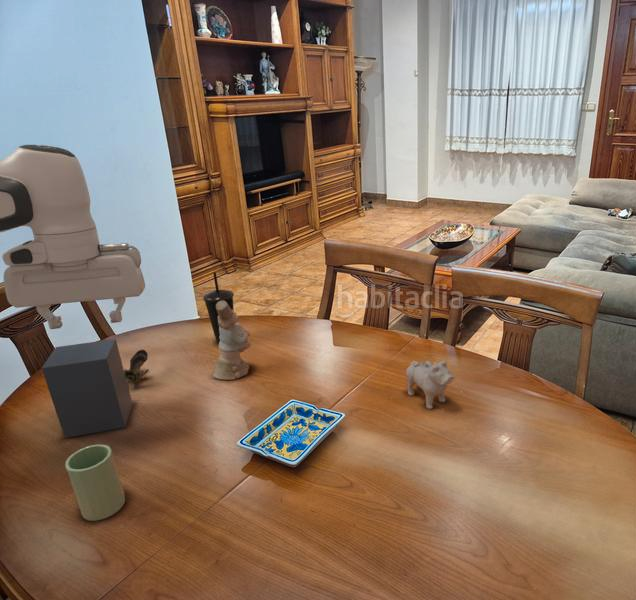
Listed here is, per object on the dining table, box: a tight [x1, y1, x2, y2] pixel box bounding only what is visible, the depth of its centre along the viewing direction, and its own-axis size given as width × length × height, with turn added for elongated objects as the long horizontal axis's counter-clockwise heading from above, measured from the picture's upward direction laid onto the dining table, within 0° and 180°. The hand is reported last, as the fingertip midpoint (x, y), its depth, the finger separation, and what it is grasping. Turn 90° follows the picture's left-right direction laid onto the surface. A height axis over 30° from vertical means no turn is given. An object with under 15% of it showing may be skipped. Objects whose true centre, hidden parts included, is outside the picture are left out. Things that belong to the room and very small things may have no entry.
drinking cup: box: [202, 271, 235, 346], centre depth 135 cm, size 8×8×20 cm
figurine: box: [212, 301, 251, 381], centre depth 120 cm, size 9×8×20 cm
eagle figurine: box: [124, 349, 149, 390], centre depth 120 cm, size 8×7×9 cm
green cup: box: [64, 443, 126, 522], centre depth 83 cm, size 6×6×10 cm
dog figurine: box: [405, 360, 455, 410], centre depth 109 cm, size 5×13×11 cm, turn 39°
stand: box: [41, 338, 133, 439], centre depth 104 cm, size 11×9×16 cm
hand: (87, 324), depth 89 cm, fingers open, 8 cm apart
